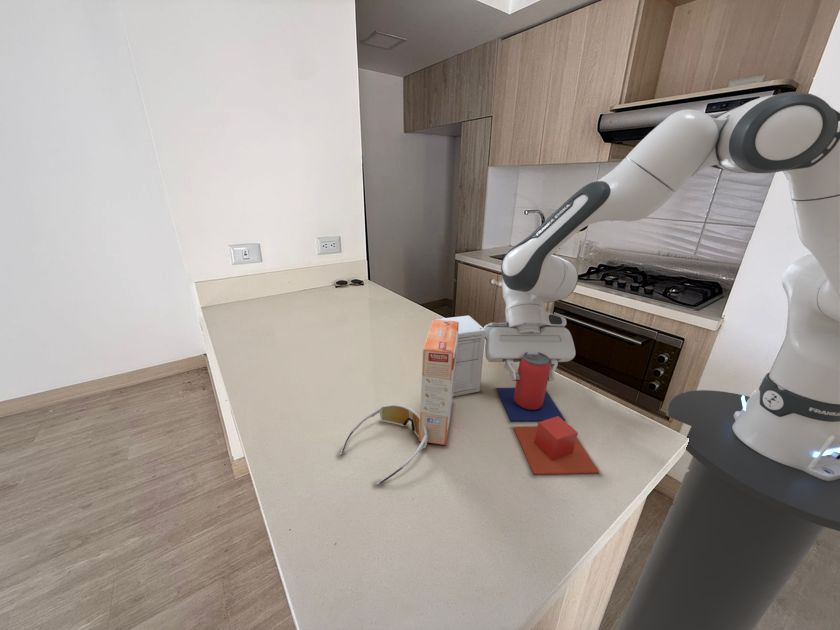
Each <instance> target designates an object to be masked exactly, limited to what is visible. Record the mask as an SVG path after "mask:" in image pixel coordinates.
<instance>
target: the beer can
mask: <svg viewBox="0 0 840 630" xmlns="http://www.w3.org/2000/svg"><path fill="white" fill-rule="evenodd" d="M527 353H528V352H526V353H524V355H523V358H522V359H521V361H520V362H518V369H517V372H519V373H520V375H519V376H520V380H519V381H515V387H514V388H515V393H514V401H515V402H516V404H518V405H519V406H520V407H522V408H524V409H528V410H537V409H539V408H541V407H542V406H543V402H544V397H545V392H547V387H548V383H549V381H548V378H549V373H550V367H551V366H550V363H549V361H550V360H549V358H548V357H547V356H546V355H544V354H542V353H539V352H537V353H539V354H527Z"/></svg>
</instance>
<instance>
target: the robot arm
mask: <svg viewBox="0 0 840 630" xmlns="http://www.w3.org/2000/svg"><path fill="white" fill-rule="evenodd" d="M709 167H711V168H715V169H718V170H723V171H728V172H730V173H736V174H772V173H774V174H775V173H780V172H782V173H783V174H784V175H785V178H786V180H787V181H788V186H789V192H790V199H791V204H792V209H793V214H794V220H795V224H796V228H797V229H796V230H797V234H798V238H799V241H800V242H801V244H802V245H803V246H804V247H805V248H806V249H807V250H808V251H809V252H810V254H807V255H805V256H802V257H799V258H798V259H796V260H794V261H793V262H792V263H791V264H790V265H789V266H787V268H786V270H785V271H784V273H783V275H782V279H781V285H782V288H783V290H784V292H785V294H786V299H787V321H786V329H785V330H786V331H785V336H784V340H783V343H782V346H781V348H780V350H779V353H778V355H777V357H776V359H775V361H774V362H773V366H772V368H771V369H770V371H769V372H767V373H766V374H765V376H764V377H763V378H762V379H761V382H760V385H759V387H758V389H755V390H754V391H753V392H752V393H751V395H750V396H749V397H750V398H749V399H748V401H747V402H745V397H744V396H745V395H744V394H741V395H742V398H741V399H742V404H743V409H742V410H741V411H736V412H735V414H734V419H735V422H734V424H733V425H732V429H733V432H734V433H735V435H736V436H737V437H738V438H739V439H740V440H741V441H742V442H743V443H745V444H746V445H747V446H749V447H750V448H752V449H753V450H755V451H756V452H758V453H760V454H762V455H763V456H765V457H767V458H769V459H772V460H774V461H776V462H779V463H781V464H784V465H787V466H790V467H793V468H796V469H799V470H802V471H804V472H806V473H808V474H810V475H813V476H815V477H817V478H819V479H822V480H825V481H832V480H836V479H840V110H838V111H837V110H836V109H834V107H832V106H831V105H830V104H829V103H827V102H826V101H825V100H824V99H822V98H821V97H819V96H818V95H815V94H812V93H808V92H804V91H803V92H802V91H787V92H782V93H778V94H773V95H765V96H762V97H758V98H755V99H753V100H752V99H751V100H750V101H747V102H745V103H744V104H742V105H739V106H735V107H733V108H731V109H728V110H726V111H724V112H722V113H720V114H718V115H715V116H714V117H713V116H711V115H709V114H708V113H706V112H704V111H701V110H697V109H690V108H689V109H680V110H678V111H675V112H673V113H672V114H670V115H669V116H668V117H666V118H665V119H664V120H662V121H661V122H660V123H658V124H657V125H656V126H655V127H654V128H653V129H652V130H651V131H650V132H648V133H647V135H645V136H644V138H642V139H641V140H640V141H639V142H638V143H637V144H636V145H635V146H634V147H633V148H632V149H631V151H629V152H628V154H627V155H626V156H625V157H624V158H623V159H622V160H621V161H620V162H619V163H618V164H617V165H616V166H615V167H614V168H613V169H612V170H611V171H609V172H608V173H607V174H605V175H604V176H603V177H601V178H599V179H597V180H596V181H592V182H589V183H587V184H586V185H584V186H582V187H581V188H580V189H579V190H577V191H576V192H575V193H573V195H571V196H570V197H569V198H568V199H567V200H566V201H565V202H564V203H562V205H560V207H558V208H557V209H556V210H555V211H554V212H553V213H552V214H551V215H549V217H548V218H547V219H545V220H544V221H543V222H542V224H540V225H539V226H538V227H537V228H536V229H535V230H534V231H533V232H532V233H530V234H529V235H528V236H527V237H526V238H524V239H523V240H521V241H520V242H519V243H517V244H515V245H514V246H512V247H511V249H510V250H508V251H507V252H506V254H504V257H503V259H502V260H501V265H500V272H501V288H502V289H501V290H502V297H503V301H504V303H505V310H504V315H505V322H489V323H487V324H485V325H484V326H483V328H484V329H485V330H486V333H485V343H484V352H485V353H484V355H485V359H486V360H487V361H488V362H489V363H504V368H505V369H506V370H507V371H508V373H509V374H510V378H511V379H510V380H511V382H516V381H519V380H520V376H519V375H520V373H519V372H518V371H516V369H515V368H514V366H513V365H514V363H520V361H521V359H522V358H523V355H524V353H526V352H528V353H527V354H539V353H542V354H544V355H546V356H547V357H548V358H549V360H550V361H549V363H550V373H549V378H548V382H554V381H555V380H556V375H555V372H556V370H557V368H558V365H559V363H568V362H570V361H572V360H573V359H574V358H575V357H576V347H575V343H574V339H573V336H572V333H571V332H570V330H569V329H568V328H567V327H566V326H567V319H566V317H564V316H562V315H558V314H554V313H551V312H548V311H546V310H544V304H547V303H554V302H557V301H562V300H564V299H566V298H568V297H569V296H570V295H571V294H573V292H574V291H575V289H576V287H577V285H578V281H579V272H578V269H577V267H576V266H575V264H574V263H572V262H570V261H568V260H566V259H564V258H562V257H560V256H558V255H554V253H555V252H557V251H558V250H559V249H560V248H561V247H562V246H564V245H565V244H566V243H567V242H569V240H570V239H572V238H573V237H574V236H575V235H576V234H577V233H579V232H580V231H581V230H582V229H584V228H586V227H588V226H590V225H593V224H597V223H604V222H605V223H606V222H620V223H628V222H635V221H636V222H637V221H641V220H643V219H645V218H648V217H649V216H650V215H652V214H653V213H655V212H656V211H658V210H659V209H660V208H661V207H662V206H664V204H665V203H667V202H668V201H669V200H670V199H671V198H672V197H673V196H674V195H675V193H677V192H678V191H679V190H680V189H681V188H682V187H683V186H684V185H685V184H686V183H687V182H688V181H689V180H690V179H691V178H692V177H694V176H695V175H697V174H698V173H700V172H701V171H703V170H704V169H708V168H709ZM537 352H539V353H537ZM743 395H744V396H743Z"/></svg>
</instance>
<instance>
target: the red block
mask: <svg viewBox="0 0 840 630" xmlns="http://www.w3.org/2000/svg"><path fill="white" fill-rule="evenodd" d="M537 422H538V423H537V426H536V427H537V432H536V437H535V443H536V444H537V445H538V446H539V447H540V448H541V449H542V450H543V451H544V452H545V453H546V454H547V455H548V456H549V457H550V458H551V459H552V460H555V459H558V458H560V457H563V456H566V455H569V454H571V453H573V450H574V446H575V442H576V438H577V439H578V434H579V432H578V431H577V430H576V429H575V428H573V427H572V426H571V425H570V424H568V423H567V422H566V420H565V421H564V420H562V419H561V418H560V417H559V416H557V417H554V418H550V419H547V420H544V421H537Z"/></svg>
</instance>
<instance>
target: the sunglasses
mask: <svg viewBox="0 0 840 630" xmlns="http://www.w3.org/2000/svg"><path fill="white" fill-rule="evenodd" d="M378 414H379V417H380V421H381V422H383V423H389V424H393V425H398V426H402V427H405V426H407V424H408V423H409V422H411V423H410V426H411V431H412V432H414V434H415V436H416V437H417V438H418V439H419V423H420V413H418V412H417V411H416V410H414V409H413V408H411V407H409V406H407V405H405V404H401V403H390V404H383V405H381V406H380V407H378V408H376V409H375V410H373V411H371V412H370V413H368V414H367V415H366V416H365V417H363V419H361V420H360V421H359V422H358V423H357V424H356V425H355V426H354V427H353V428H352V429H351V430H350V432H349V433H348V435H347V436H346V438H345V441H344V443H343V444H342V448H341V449H340V453H339V456H342V455H343V454H344V450H345V447H346V446H347V443H348V441H349V439H350V437H351V436H352V435H353V434H354V432H355V431H356V430H358V429H359V427H360V426H361V425H362V424H363V423H364V422H366V421H367V420H368V419H370V418H374V417H375V416H377V415H378ZM423 428H424V438H423V440H422V442H421V441H420V443H419V445H418V447H417V449H416V450H415V452H414V453H413V454H412V455H411V456H410V457H409V458H408V459H407V460H406V461H405V462H404V463H403V464H401V465H400V466H399V467H398V468H396V469H394V471H392V472H391V473H390V474H388V475H386V476H384V477H383V478H382V479H380V480H379V481H377V482H376V483H375V485H381V484H382V483H384V482H386V481H387V480H389V479H390V478H392V477H393V476H395V475H396V474H398V473H399V472H400V471H401V470H403V469H404V468H405V467H407V466H408V465H409V464H410V463H411V462H412V460H413V459H415V457H416V456H417V455H418V454H419V453H420V451H422V450H423V449H426V448H427V446H428V443H427V430H426V426H423Z"/></svg>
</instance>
